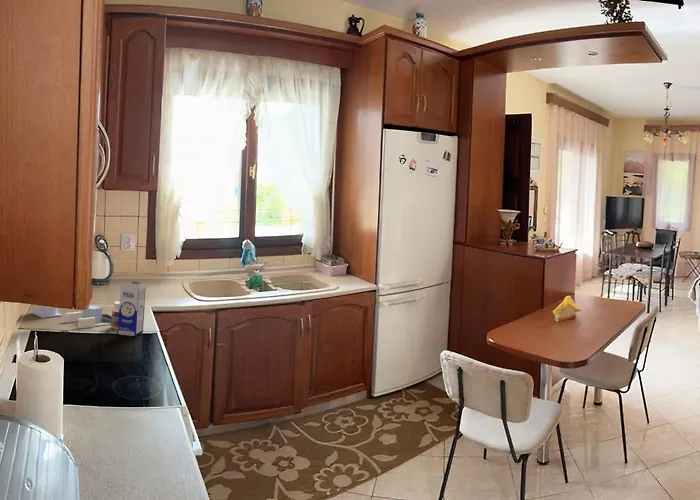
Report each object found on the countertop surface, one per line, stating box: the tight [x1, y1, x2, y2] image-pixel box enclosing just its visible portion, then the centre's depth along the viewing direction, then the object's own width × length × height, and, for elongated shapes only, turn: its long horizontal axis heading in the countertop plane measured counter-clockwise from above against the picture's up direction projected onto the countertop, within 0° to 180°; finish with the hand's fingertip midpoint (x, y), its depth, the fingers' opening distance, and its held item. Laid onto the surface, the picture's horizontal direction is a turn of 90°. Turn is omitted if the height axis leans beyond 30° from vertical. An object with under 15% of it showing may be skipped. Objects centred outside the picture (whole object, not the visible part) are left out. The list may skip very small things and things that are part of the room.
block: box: [82, 304, 103, 324], centre depth 229 cm, size 5×5×6 cm
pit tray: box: [102, 313, 112, 323], centre depth 233 cm, size 11×4×2 cm, turn 51°
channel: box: [65, 311, 111, 329], centre depth 227 cm, size 11×12×4 cm
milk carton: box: [117, 280, 147, 337], centre depth 217 cm, size 7×7×20 cm
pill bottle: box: [110, 300, 120, 330], centre depth 225 cm, size 6×6×10 cm
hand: (64, 298), depth 222 cm, fingers closed
